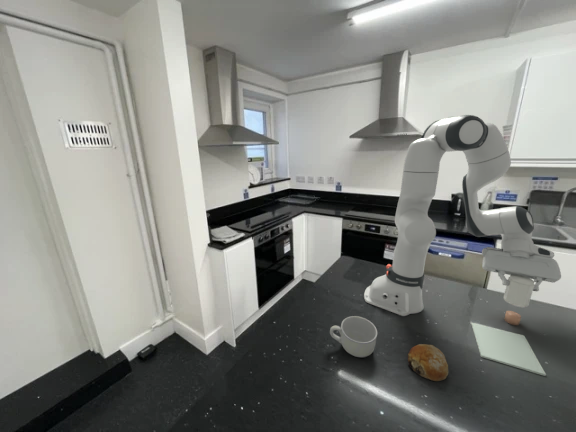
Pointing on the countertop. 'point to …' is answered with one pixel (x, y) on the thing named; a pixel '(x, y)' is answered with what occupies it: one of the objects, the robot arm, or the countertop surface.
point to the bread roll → (428, 362)
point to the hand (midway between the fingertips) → (520, 287)
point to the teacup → (356, 336)
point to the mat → (506, 348)
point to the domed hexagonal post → (519, 290)
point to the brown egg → (512, 318)
